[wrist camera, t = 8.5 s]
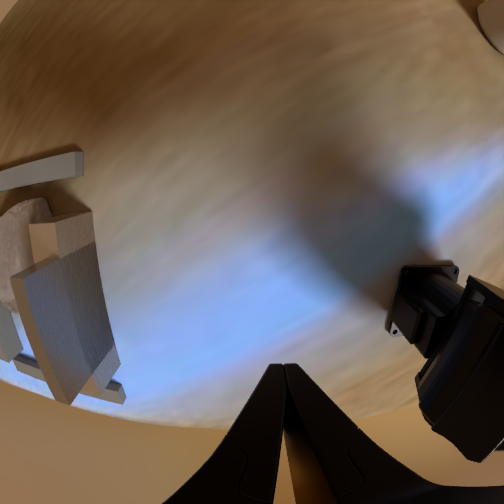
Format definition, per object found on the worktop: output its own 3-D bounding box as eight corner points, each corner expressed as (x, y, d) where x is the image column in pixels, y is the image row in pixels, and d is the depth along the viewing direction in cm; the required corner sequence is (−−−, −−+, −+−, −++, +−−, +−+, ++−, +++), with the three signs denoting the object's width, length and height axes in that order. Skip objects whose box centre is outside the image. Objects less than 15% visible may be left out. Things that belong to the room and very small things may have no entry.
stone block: (93, 275, 24) (45, 184, 19) (70, 306, 19) (11, 201, 15) (33, 300, 25) (-8, 230, 21) (13, 325, 21) (-33, 249, 17)
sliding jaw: (92, 211, 20) (14, 236, 11) (120, 364, 24) (81, 426, 15) (66, 213, 20) (-10, 237, 11) (96, 359, 24) (54, 416, 15)
